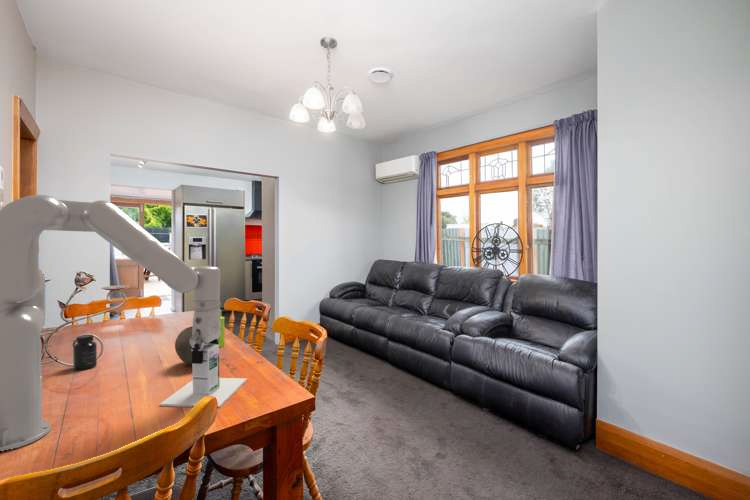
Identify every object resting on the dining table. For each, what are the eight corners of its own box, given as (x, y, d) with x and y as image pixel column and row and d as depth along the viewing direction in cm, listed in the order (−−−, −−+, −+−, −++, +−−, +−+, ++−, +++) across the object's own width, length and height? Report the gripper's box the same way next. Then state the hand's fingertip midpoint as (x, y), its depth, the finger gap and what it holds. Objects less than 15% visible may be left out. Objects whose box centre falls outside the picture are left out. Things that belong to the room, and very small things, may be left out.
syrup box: (208, 395, 108) (208, 349, 108) (191, 393, 109) (191, 347, 109) (219, 387, 114) (219, 343, 114) (203, 386, 115) (203, 342, 115)
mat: (220, 407, 102) (220, 405, 102) (159, 405, 102) (159, 403, 102) (247, 380, 122) (247, 378, 122) (196, 378, 122) (196, 377, 122)
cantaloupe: (171, 363, 137) (171, 325, 137) (209, 355, 146) (209, 320, 146) (178, 374, 127) (178, 333, 126) (219, 365, 136) (220, 327, 135)
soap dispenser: (208, 345, 161) (208, 302, 160) (224, 343, 164) (224, 301, 163) (207, 349, 155) (207, 304, 155) (224, 347, 158) (224, 303, 158)
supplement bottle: (69, 368, 130) (69, 336, 130) (91, 363, 136) (91, 332, 136) (78, 372, 127) (78, 339, 127) (100, 366, 133) (100, 335, 133)
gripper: (204, 310, 102) (203, 368, 103) (230, 300, 120) (229, 350, 120) (179, 309, 103) (178, 367, 103) (208, 300, 120) (207, 349, 120)
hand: (205, 358), depth 111 cm, fingers open, 9 cm apart
